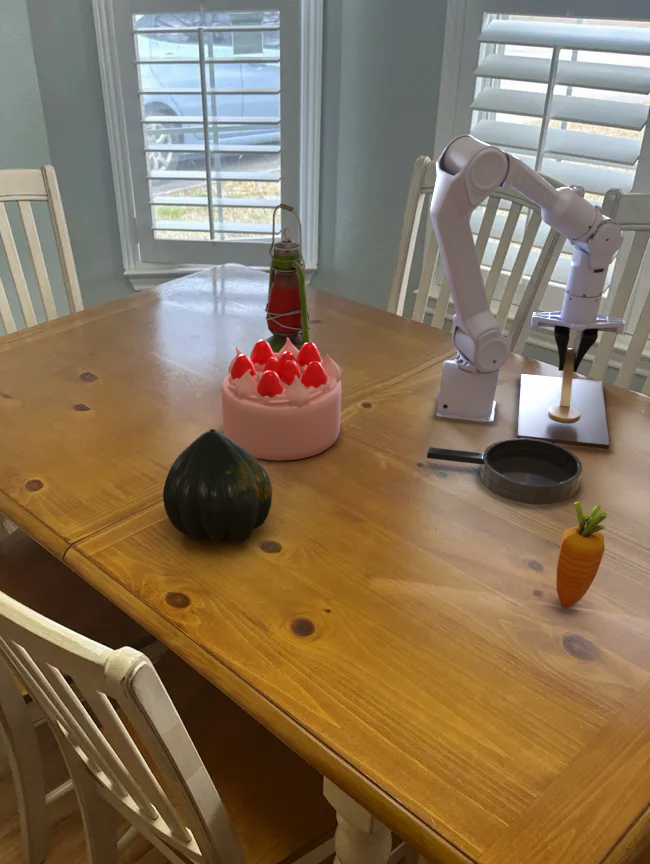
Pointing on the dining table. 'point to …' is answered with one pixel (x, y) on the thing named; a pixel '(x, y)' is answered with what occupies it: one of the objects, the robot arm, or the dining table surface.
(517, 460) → the pan
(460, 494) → the dining table surface
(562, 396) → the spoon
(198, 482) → the squash
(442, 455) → the pan handle
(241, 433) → the cake
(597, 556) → the carrot
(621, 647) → the dining table surface
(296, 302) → the lantern
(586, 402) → the board
